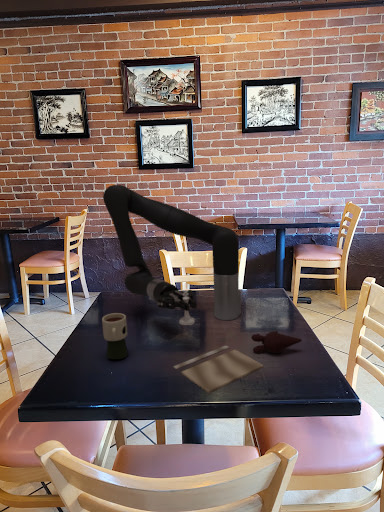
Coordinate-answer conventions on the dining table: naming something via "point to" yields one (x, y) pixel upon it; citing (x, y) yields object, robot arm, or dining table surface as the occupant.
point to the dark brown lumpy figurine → (273, 342)
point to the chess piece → (186, 314)
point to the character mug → (115, 335)
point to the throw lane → (219, 369)
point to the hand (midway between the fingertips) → (191, 306)
